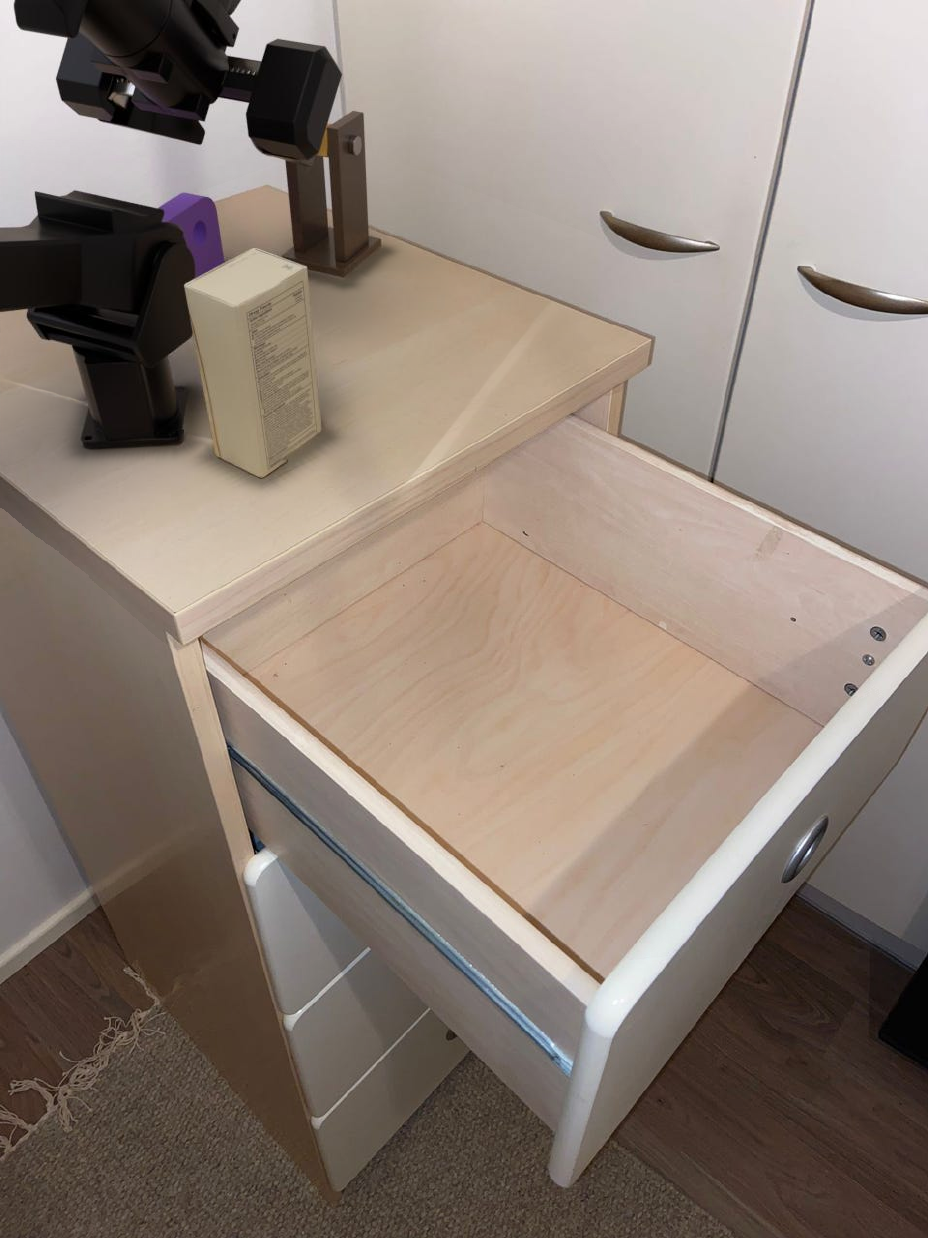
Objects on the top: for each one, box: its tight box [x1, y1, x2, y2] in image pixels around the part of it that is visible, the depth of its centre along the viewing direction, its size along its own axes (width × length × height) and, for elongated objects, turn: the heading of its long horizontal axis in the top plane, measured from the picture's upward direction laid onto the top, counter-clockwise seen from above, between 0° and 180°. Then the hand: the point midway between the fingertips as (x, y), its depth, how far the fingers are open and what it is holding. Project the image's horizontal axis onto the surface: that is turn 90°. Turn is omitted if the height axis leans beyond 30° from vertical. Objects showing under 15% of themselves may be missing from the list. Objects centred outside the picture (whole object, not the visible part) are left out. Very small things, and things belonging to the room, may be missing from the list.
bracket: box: [157, 192, 226, 278], centre depth 80 cm, size 12×7×7 cm, turn 69°
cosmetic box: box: [184, 247, 322, 479], centre depth 61 cm, size 6×4×12 cm
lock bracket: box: [280, 110, 382, 278], centre depth 81 cm, size 7×6×12 cm
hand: (255, 148), depth 70 cm, fingers open, 9 cm apart
